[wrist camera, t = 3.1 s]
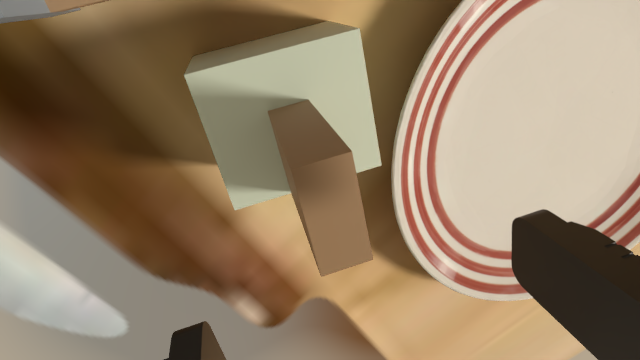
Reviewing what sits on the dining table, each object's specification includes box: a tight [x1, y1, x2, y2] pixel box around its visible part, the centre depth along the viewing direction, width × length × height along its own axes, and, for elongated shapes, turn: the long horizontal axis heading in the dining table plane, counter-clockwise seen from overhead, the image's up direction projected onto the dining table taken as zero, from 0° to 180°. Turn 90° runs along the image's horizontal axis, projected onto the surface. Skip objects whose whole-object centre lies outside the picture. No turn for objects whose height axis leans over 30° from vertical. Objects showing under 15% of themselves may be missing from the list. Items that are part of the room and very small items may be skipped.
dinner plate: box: [391, 0, 640, 301], centre depth 29 cm, size 27×27×3 cm
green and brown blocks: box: [184, 21, 382, 277], centre depth 18 cm, size 7×8×13 cm
